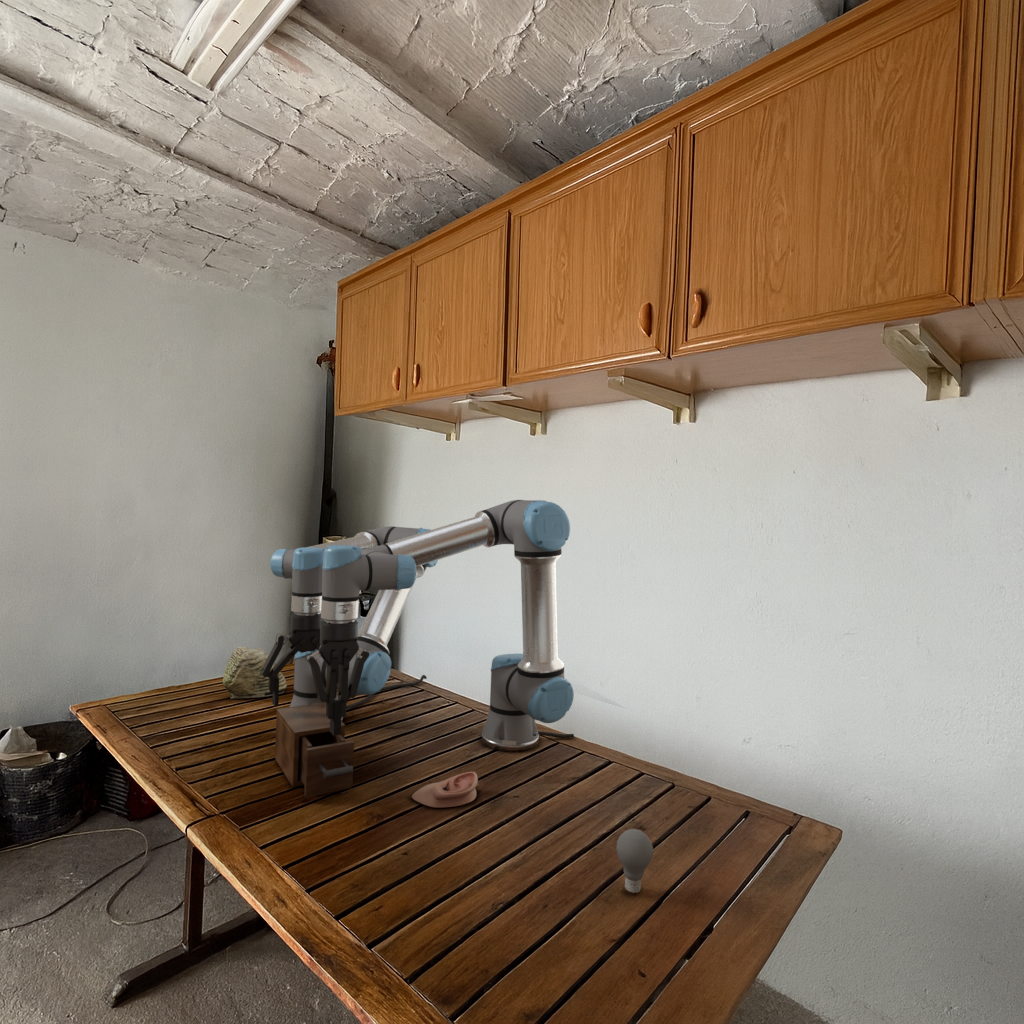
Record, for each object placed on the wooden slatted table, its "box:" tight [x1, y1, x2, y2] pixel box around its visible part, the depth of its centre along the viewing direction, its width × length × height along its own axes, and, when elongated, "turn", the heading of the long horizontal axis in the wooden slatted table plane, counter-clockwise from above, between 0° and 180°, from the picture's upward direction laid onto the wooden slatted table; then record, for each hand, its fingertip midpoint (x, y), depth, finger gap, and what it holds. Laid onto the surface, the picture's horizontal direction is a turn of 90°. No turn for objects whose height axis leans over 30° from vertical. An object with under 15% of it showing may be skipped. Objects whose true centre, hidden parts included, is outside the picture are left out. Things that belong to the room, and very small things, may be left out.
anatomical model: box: [411, 771, 479, 809], centre depth 136 cm, size 13×4×12 cm
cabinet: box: [274, 703, 346, 788], centre depth 147 cm, size 17×11×12 cm, turn 33°
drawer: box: [298, 732, 355, 799], centre depth 138 cm, size 22×10×10 cm, turn 33°
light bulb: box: [615, 828, 654, 894], centre depth 106 cm, size 6×6×10 cm
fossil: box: [222, 646, 288, 699], centre depth 198 cm, size 9×18×15 cm, turn 132°
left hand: (305, 700), depth 152 cm, fingers open, 13 cm apart
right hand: (335, 732), depth 131 cm, fingers closed
